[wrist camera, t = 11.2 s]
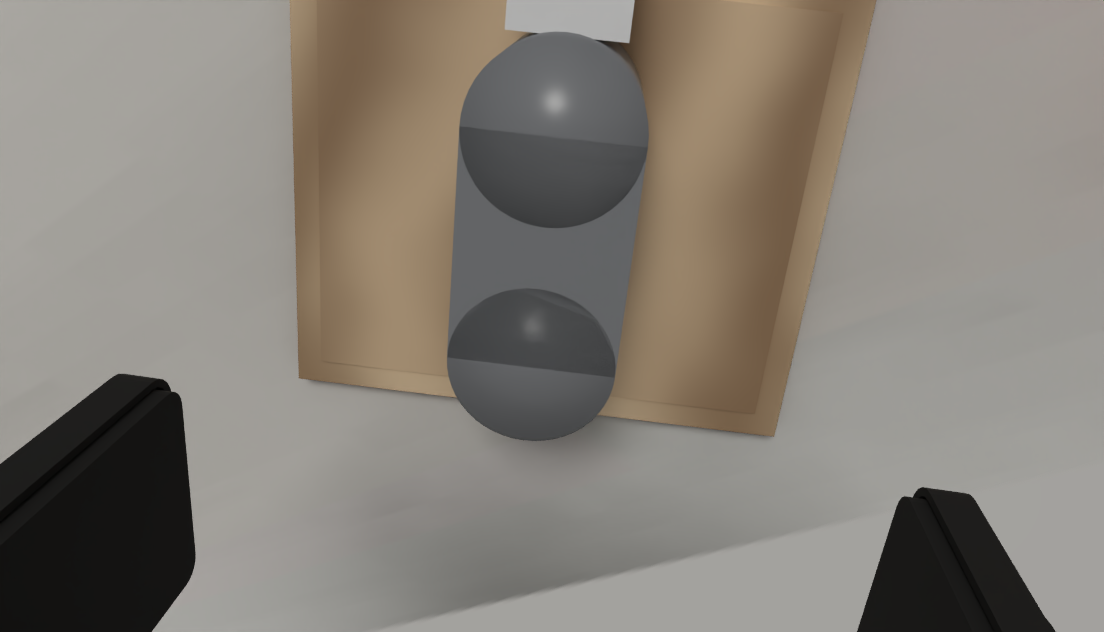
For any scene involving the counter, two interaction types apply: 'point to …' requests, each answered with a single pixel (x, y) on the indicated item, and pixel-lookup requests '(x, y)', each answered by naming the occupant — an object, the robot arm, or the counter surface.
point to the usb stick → (546, 219)
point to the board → (665, 207)
